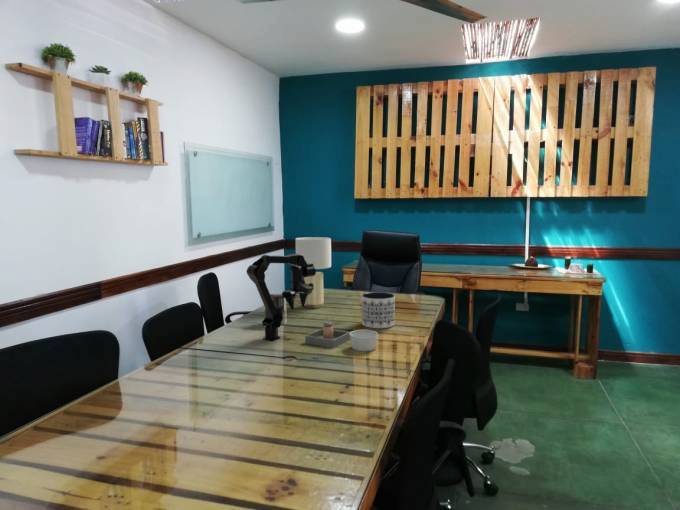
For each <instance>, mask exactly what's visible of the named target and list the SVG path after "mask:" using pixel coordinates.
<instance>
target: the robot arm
mask: <svg viewBox="0 0 680 510" xmlns="http://www.w3.org/2000/svg"><path fill="white" fill-rule="evenodd" d="M270 264H288V265H290V266H289V267H288V268H287V270H288V271H291V280H289V283H291V288H290V289H287V290H283V291H282V293H281V294H282V297H284V298H285V299H286V303H287V304H288V306H289V308H290V310H292V311H293V310H294V308H295V307H294V306H295V300H296V298H297V295H299V298H300V299H299V300H300V303H301V304H300V305H301V307H305V306H306V304H305V302H306V298H307V296H308V295H309V294H311V292H312V290H314V284H313V283H310V284H309V285H308V284H305V280H304V277H311V276H315V274H316V272H317V269H315V267H314V266H313V264H307V263H306V261H305V260H304V257H303V255H299V254H296V253H290V254H288V255H270V254H269V255H268V254H264V255H261V257H259V259H257V260H256V261H254V262H253V263H252V264H250V265H248V267H247V269H246V274H247V276H248V278H249V279H250V281H252V282H253V283H254V284H255V287H256V289H257V291H258V294H259V296H260V298H261V301H262V303H263V306H264V308H265V311H264V314H265V317H264V319H263V320H262V321H261V324H262V326H263V327H264V335H265V336H264V337H262V340H266V341H271V342H274V341H276V340H278V339H280V338H281V336H279V328H281V325H282V324H281V321H282V319H283V313H282V311H281V308H280V307H277V306H275V305H274V302H273V300H272V298H271V295H270V294H271V293H270V291H269V289H268V286H267V283H266V281H265V280H266V274H265V272H266V271H267V270H268V268H269V266H270ZM296 266H297V267H296ZM298 266H300V267H301V268H300V267H298Z"/></svg>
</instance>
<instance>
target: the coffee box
mask: <svg viewBox="0 0 680 510" xmlns="http://www.w3.org/2000/svg"><path fill="white" fill-rule="evenodd" d="M270 295H271V298H272V300H273V302H274V305H275V306H277V307H280V308H281V311H282V313H283V319H282V321H281V325H286V324H287V322H288V319H287V318H288V315H287V313H288V312H287V301H286V299H285V298H284V297H282V293H270Z"/></svg>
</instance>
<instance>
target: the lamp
mask: <svg viewBox="0 0 680 510" xmlns="http://www.w3.org/2000/svg"><path fill="white" fill-rule="evenodd" d="M295 254H299V255H303V257H304V260H305V261H306V263H307V264H313V266H314V267H315V270H324V269H330V268H331V267H332V239H331V238H330V237H325V236H324V237H323V236H321V237H320V236H313V237H312V236H309V237H308V236H306V237H296V238H295ZM295 267H297V266H296V265H295ZM298 267H300V266H298ZM300 268H301V267H300ZM303 280H305V284H308V285H309V284H310V283H313V284H314V290H312V292H311V294H309V295H308V296H307V298H306V302H305V308H307V309H320V308H323V306H324V301H325V300H324V272H322V271H316V274H315V276H311V277H303Z"/></svg>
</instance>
